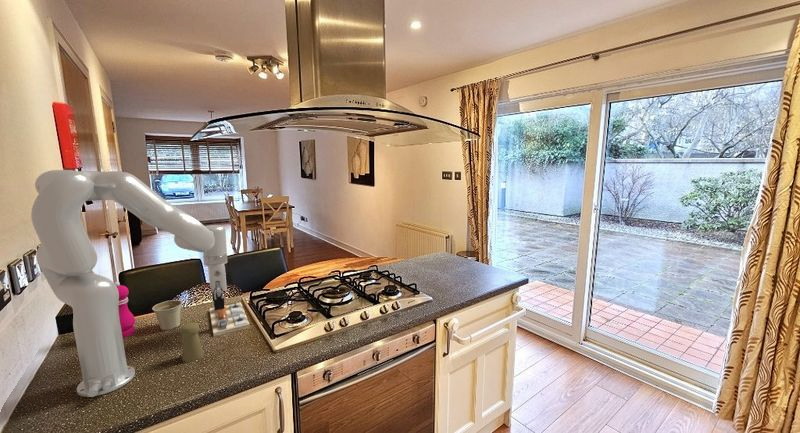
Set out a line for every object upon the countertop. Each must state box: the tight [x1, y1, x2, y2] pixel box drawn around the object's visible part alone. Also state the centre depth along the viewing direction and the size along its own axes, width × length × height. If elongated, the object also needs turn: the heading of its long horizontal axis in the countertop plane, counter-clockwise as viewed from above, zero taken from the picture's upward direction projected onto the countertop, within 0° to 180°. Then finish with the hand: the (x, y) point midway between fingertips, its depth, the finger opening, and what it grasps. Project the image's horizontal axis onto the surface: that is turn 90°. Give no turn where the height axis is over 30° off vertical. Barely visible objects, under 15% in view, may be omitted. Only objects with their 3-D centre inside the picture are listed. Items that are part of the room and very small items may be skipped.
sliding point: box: [217, 302, 241, 326], centre depth 128 cm, size 3×8×7 cm, turn 122°
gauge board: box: [209, 301, 251, 337], centre depth 135 cm, size 24×12×4 cm, turn 32°
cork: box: [179, 322, 205, 363], centre depth 109 cm, size 6×6×11 cm
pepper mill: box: [113, 281, 136, 339], centre depth 122 cm, size 7×7×20 cm
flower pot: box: [151, 299, 183, 331], centre depth 129 cm, size 9×9×9 cm
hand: (218, 304), depth 125 cm, fingers open, 9 cm apart
